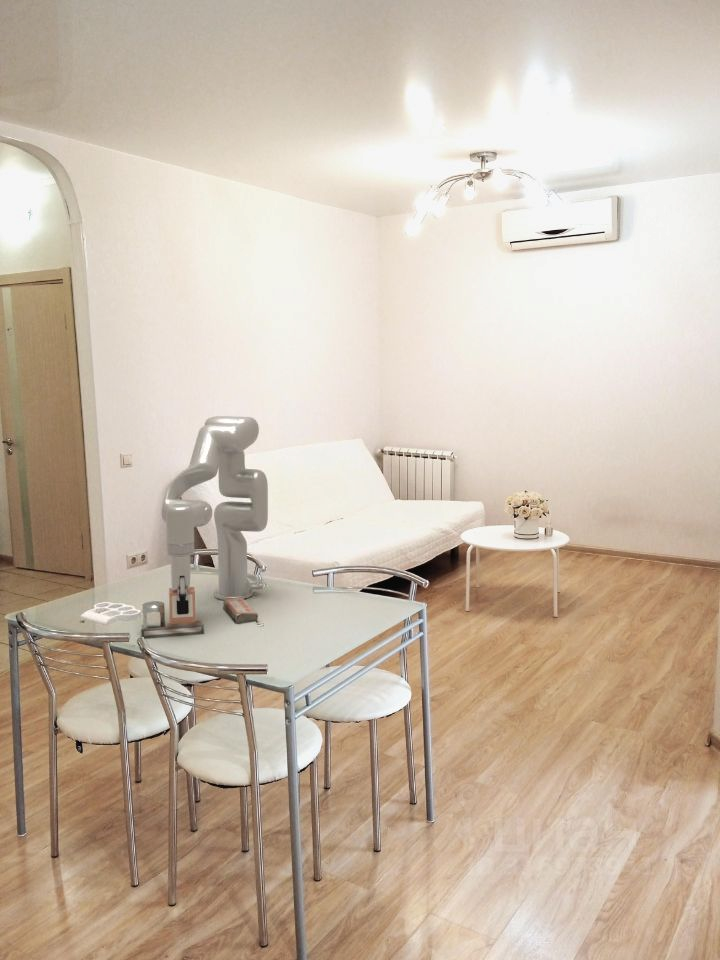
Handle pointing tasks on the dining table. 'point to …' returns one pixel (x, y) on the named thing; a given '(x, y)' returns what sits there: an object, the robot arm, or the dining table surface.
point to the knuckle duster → (111, 613)
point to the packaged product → (240, 611)
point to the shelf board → (174, 630)
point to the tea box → (173, 607)
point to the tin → (153, 614)
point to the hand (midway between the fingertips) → (182, 610)
